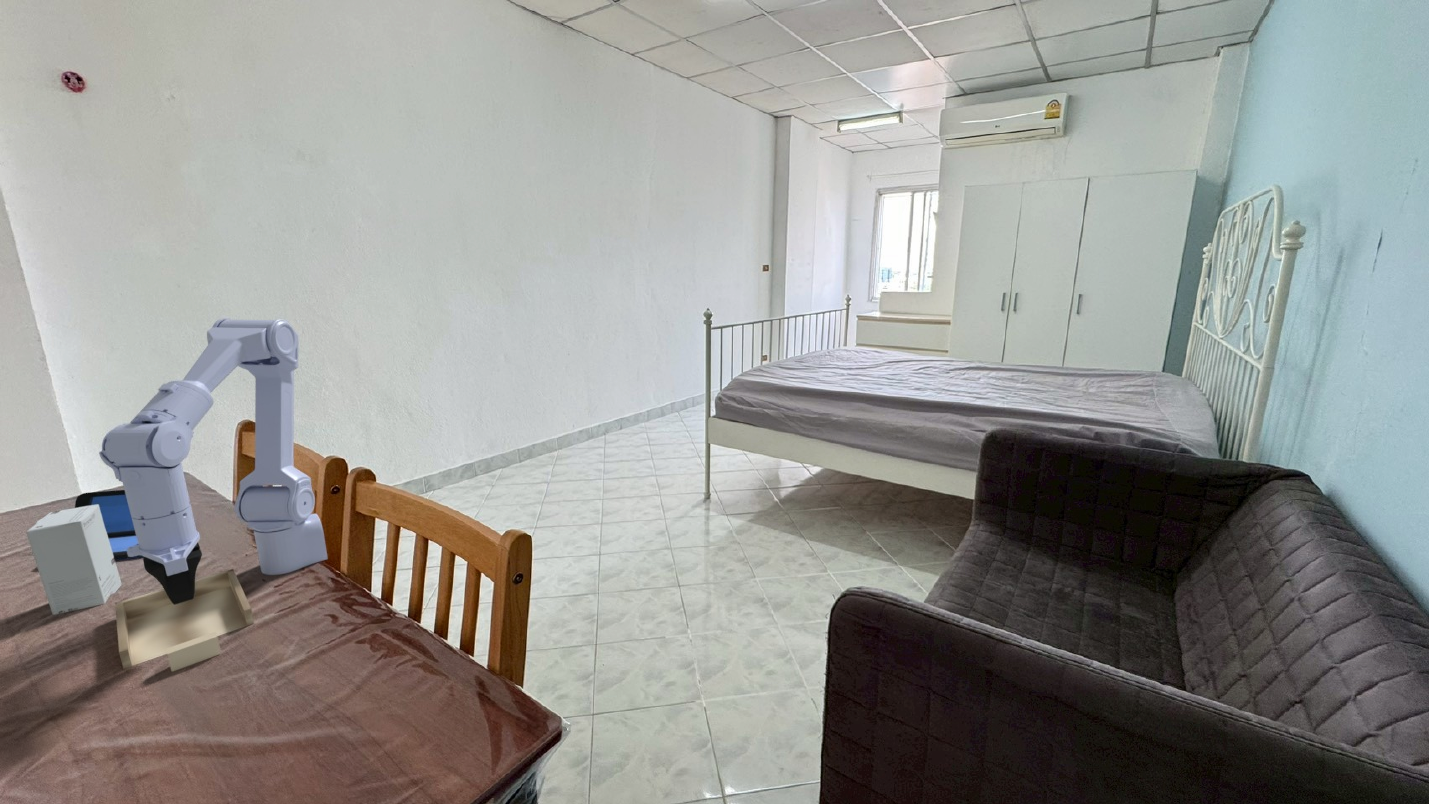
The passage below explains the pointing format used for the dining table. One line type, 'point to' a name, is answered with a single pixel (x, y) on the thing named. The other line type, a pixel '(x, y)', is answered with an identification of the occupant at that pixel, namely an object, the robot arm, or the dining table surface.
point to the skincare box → (74, 558)
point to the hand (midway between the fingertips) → (183, 599)
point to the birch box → (179, 617)
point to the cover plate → (193, 651)
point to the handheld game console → (113, 519)
